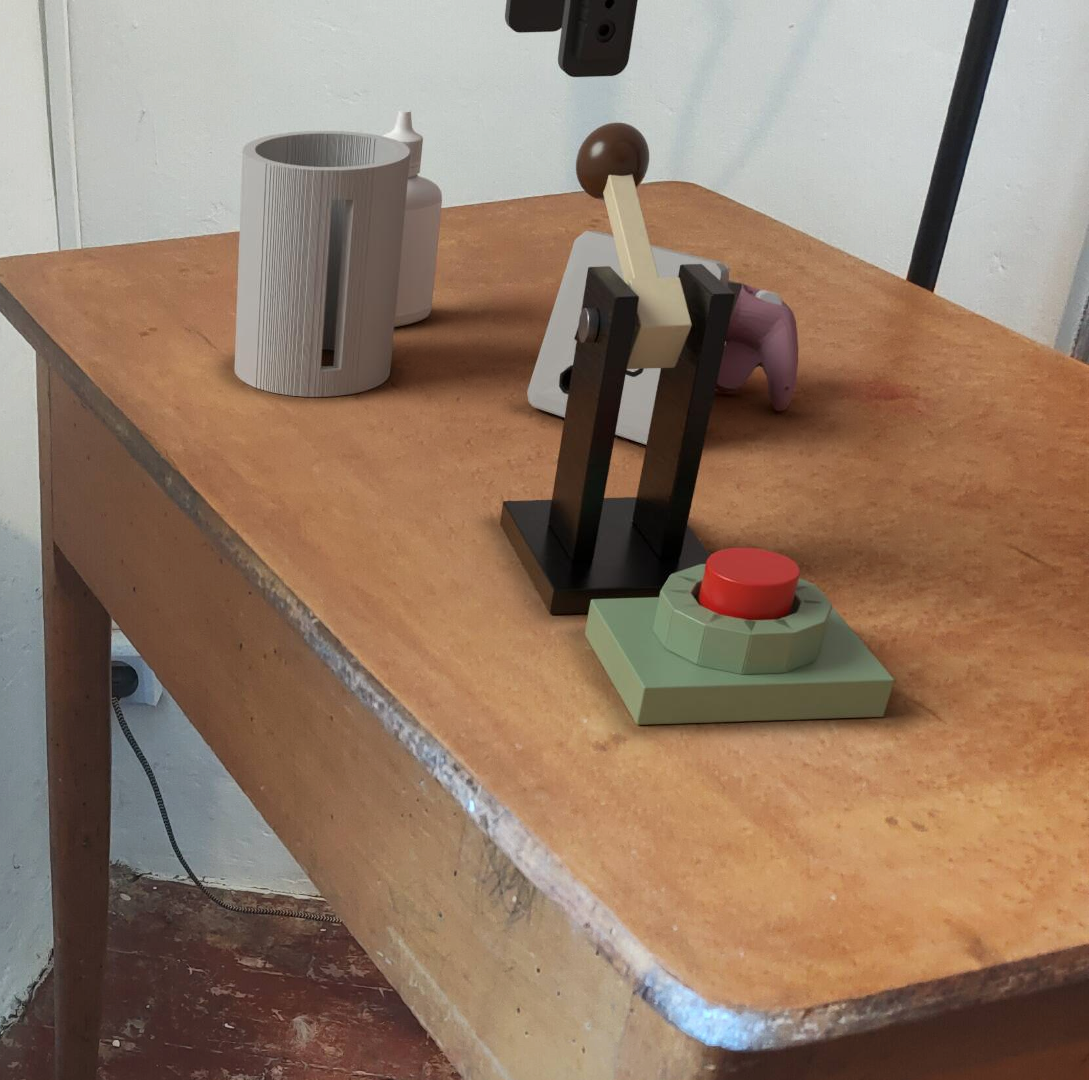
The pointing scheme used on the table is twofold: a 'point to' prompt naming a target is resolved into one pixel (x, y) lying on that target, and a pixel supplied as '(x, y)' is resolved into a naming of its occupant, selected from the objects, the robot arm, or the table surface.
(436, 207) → the eye dropper bottle
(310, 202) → the cup
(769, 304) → the video game controller
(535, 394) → the electrical switch
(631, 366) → the lever
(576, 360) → the bracket
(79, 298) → the table surface
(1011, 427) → the table surface
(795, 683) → the button block
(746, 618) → the button
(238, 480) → the table surface
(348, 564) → the table surface
